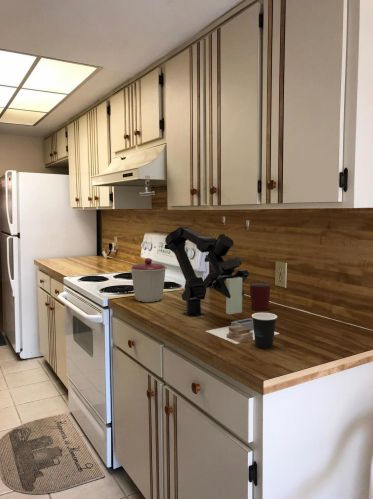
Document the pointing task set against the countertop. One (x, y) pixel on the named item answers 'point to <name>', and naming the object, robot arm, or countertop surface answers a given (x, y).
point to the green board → (234, 295)
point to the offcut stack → (240, 334)
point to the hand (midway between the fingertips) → (236, 296)
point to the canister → (148, 281)
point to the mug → (260, 296)
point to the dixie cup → (264, 329)
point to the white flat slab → (225, 330)
